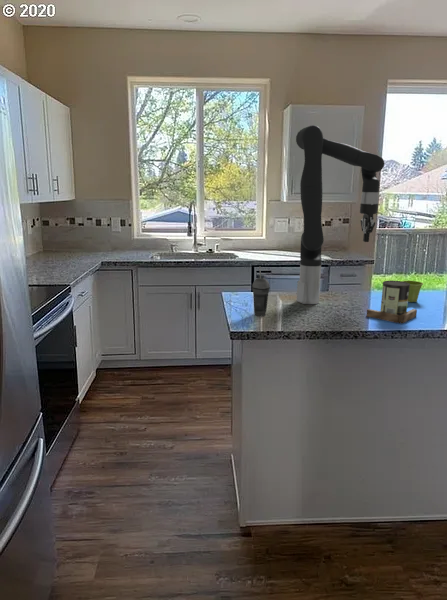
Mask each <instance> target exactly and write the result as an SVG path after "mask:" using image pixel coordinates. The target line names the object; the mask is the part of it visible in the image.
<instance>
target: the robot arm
mask: <svg viewBox="0 0 447 600" xmlns="http://www.w3.org/2000/svg"><path fill="white" fill-rule="evenodd" d="M295 143H296V145H297V146H298V147H299V148H300V149H301V150H303V153H304V162H303V163H304V165H303V168H302V169H303V170H302V172H301V178H300V184H299V185H300V186H299V187H300V188H299V189H300V202H301V204H300V205H301V209H302V213H303V232H302V234H301V236H300V251H299V253H300V256H299V257H300V265H299V280H298V281H297V284H296V285H297V286H296V302H297V303H300V304H302V305H316V304H319V302H320V288H321V274H322V261H323V260H322V247H323V244H324V240H325V239H324V233H323V231H324V230H323V223H322V213H323V212H322V210H323V168H322V165H323V164H322V159H323V158H322V157H323V155H325V156H329V157H331V158H333V159H336V160H338V161H340V162H343V163H346V164H348V165H351V166H354V167H361V178H362V191H361V197H360V205H359V213H360V214H362V218H361V219H360V227H361V232H362V233H363V237H362V238H363V240H362V241H363V242H364V243H368V242H369V241H370V236H371V235H370V234H371V233H373V230H374V227H375V225H376V222H375V221H374V215H377V214H378V208H379V200H380V199H379V197H380V196H379V194H380V180H379V179H378V178H377V173H379V172H381V171H382V170H383V169H384V167H385V160H384V159H383V157H382V156H380V155H379V154H376V153H372V152H368V151H364V150H362V149H360V148H357V147H355V146H353V145H350V144H346V143H344V142H337V141H334V140H331V139H328V138H325V137H324V133H323V131H322V129H321V128H320V127H319V126H318V125H314V124H313V125H309V126H306V127H303V128H302V129H300V130H299V131H298V132H297V134H296V137H295Z"/></svg>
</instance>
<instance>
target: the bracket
mask: <svg viewBox="0 0 447 600" xmlns="http://www.w3.org/2000/svg"><path fill="white" fill-rule="evenodd" d="M417 313H418V310H417V309H415V308H413V309H410V310H407V312H406V313H404V314H402V315H396V314H391V313H386V312H381V311H380V310H377V309H376V310H375V309H371V308H367V309H366V317H368V318H373V319H377V320H383V321H387V322H392V323H396V324H400V325H401V324H404V323H407V322H409V320H412V319H414V318H415V317H417Z"/></svg>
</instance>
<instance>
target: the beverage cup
mask: <svg viewBox="0 0 447 600" xmlns="http://www.w3.org/2000/svg"><path fill="white" fill-rule="evenodd" d="M261 269H262V268H261V266H259V277H257V278H255V279H254V281H253V283H252V285H251V288H252V289H251V290H252V295H253V310H254V311H253V312H254V316H255V317H265V316H266V314H267V309H268V308H267V307H268V300H269V293H270V282H269V281H268V280H267V279H266V277H262V272H261V271H262V270H261Z"/></svg>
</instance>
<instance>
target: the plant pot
mask: <svg viewBox="0 0 447 600" xmlns="http://www.w3.org/2000/svg"><path fill="white" fill-rule="evenodd" d="M402 281H403V282H407V283H409V284H410V286H409V295H408V302H409V303H413V302H414V303H417V302H418V299H419V295H420V291H421V289H422V287H423V285H424V282H421V281H416V280H402Z"/></svg>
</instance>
